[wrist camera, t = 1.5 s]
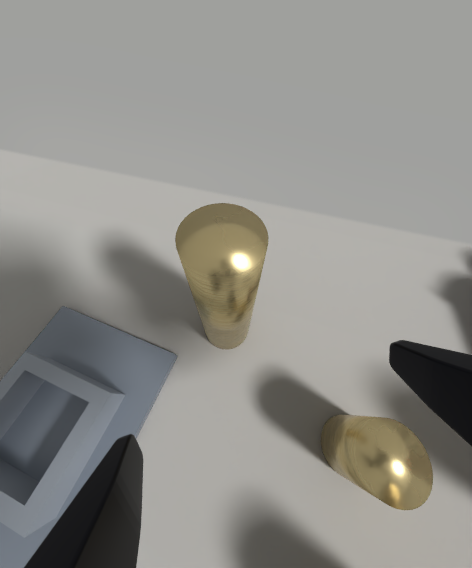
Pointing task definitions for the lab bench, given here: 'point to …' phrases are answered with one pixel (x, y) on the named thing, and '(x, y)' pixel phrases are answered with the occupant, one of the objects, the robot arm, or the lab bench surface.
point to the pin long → (223, 267)
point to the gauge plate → (67, 420)
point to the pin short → (379, 458)
